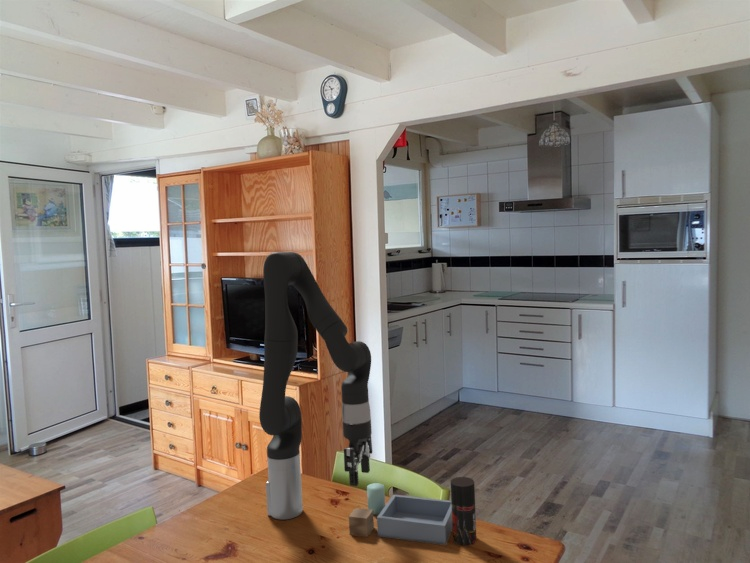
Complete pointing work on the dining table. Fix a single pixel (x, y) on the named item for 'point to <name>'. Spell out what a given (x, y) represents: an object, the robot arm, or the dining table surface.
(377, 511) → the teal cylinder
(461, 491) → the deodorant
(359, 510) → the walnut cube
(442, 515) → the box
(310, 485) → the dining table surface
